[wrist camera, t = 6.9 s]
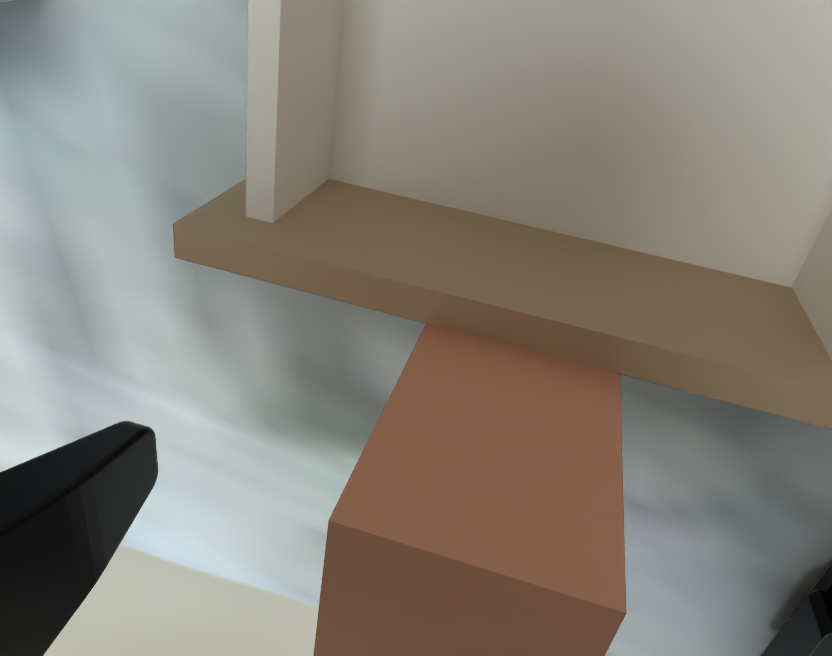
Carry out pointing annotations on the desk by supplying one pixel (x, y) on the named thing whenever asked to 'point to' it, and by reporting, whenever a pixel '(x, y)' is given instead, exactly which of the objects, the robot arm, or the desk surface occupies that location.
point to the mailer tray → (532, 274)
